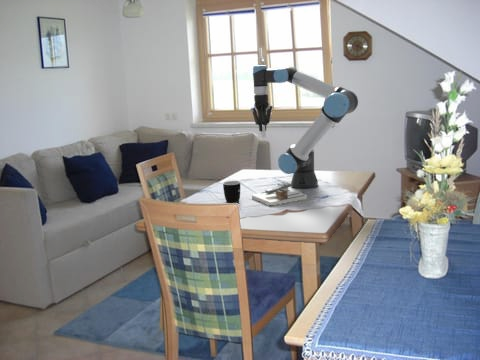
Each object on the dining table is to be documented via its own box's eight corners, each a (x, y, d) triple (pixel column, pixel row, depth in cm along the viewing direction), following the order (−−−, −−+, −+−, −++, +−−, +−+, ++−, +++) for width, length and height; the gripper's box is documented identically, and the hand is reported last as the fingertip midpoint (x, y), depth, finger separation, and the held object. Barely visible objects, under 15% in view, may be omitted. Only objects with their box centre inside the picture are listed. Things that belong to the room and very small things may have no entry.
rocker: (287, 184, 298) (287, 181, 298) (291, 186, 295) (290, 183, 295) (265, 193, 292) (264, 189, 292) (269, 194, 289) (268, 191, 289)
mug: (241, 203, 290) (240, 184, 288) (223, 204, 290) (222, 185, 288) (241, 197, 302) (240, 179, 299) (224, 198, 302) (223, 180, 299)
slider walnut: (283, 196, 289) (283, 188, 288) (287, 198, 286) (287, 189, 285) (276, 198, 288) (276, 189, 287) (281, 199, 284) (280, 191, 283)
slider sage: (284, 188, 306) (283, 180, 305) (288, 190, 302) (288, 181, 301) (278, 190, 304) (277, 181, 303) (282, 191, 300) (281, 183, 299)
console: (287, 191, 308) (286, 184, 307) (307, 198, 291) (307, 190, 290) (252, 198, 298) (251, 190, 297) (271, 206, 281) (270, 198, 280)
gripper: (267, 92, 312) (269, 134, 317) (247, 94, 306) (249, 137, 311) (274, 93, 305) (276, 136, 311) (254, 95, 300) (256, 139, 305)
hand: (263, 136), depth 311 cm, fingers closed
